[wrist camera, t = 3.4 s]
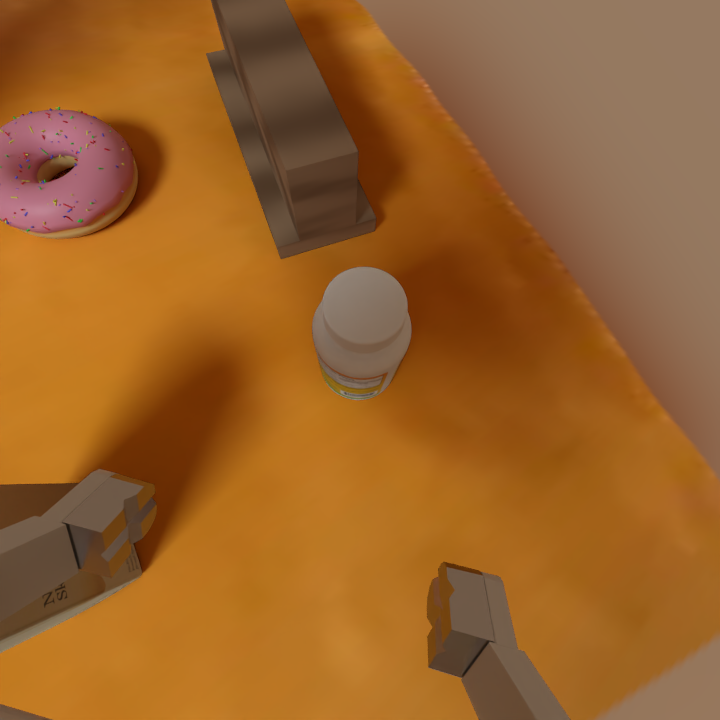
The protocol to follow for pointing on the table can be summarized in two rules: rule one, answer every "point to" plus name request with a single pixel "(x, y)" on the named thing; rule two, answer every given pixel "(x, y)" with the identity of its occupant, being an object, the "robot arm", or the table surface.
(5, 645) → the skincare box
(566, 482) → the table surface
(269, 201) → the beam
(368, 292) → the supplement bottle
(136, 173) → the doughnut
